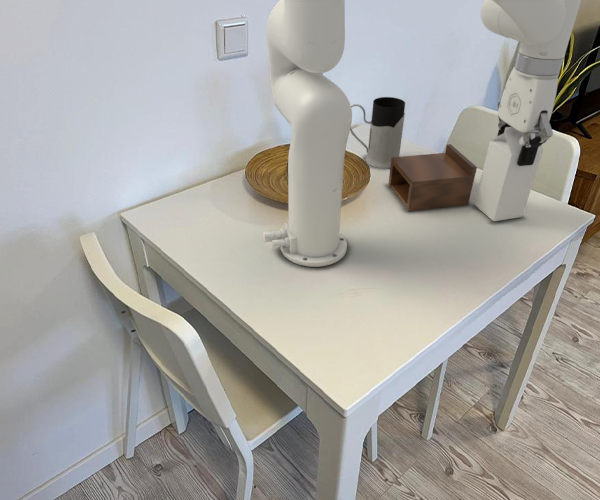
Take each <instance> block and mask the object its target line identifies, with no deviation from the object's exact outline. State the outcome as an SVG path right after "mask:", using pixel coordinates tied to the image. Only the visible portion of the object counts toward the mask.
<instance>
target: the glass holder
mask: <svg viewBox="0 0 600 500" xmlns="http://www.w3.org/2000/svg"><path fill="white" fill-rule="evenodd" d="M372 101H373V102H372V110H371V111H372V112H371V120H370V121H368V120H367V119H366V110H365V108H364V107H363V106H362V105H361V104H359V103H354V104H352V105H351V108H354V107H358V108H360V109H361V111H362V112H363V122H364V123H366V124H369V125H370V126H369V135H368V136H369V137H368V146H367V145H366V144H365V142H363V141H362V140H361V139H360V138H359V137H358V136H357V135H356V133H355V132H354V131H353V129H352V127H351V128H350V133H351V135H352V136H353V137H354V138H355V140H357V142H358V143H360V144H361V145H362V146H363V147H364V148H365V150H366V154H367V155H366V157H365V162H366V164H367V165H369V166H371V167H373V168H378V169H390V166H391V158H393V157H400V154H401V146H402V139H403V131H404V130H403V129H404V122H405V116H406V115H405V114H406V112H405V110H406V109H405V108H406V102H405V101H404V100H403V99H401V98H397V97H392V96H382V97H377V98H375V99H373V100H372Z"/></svg>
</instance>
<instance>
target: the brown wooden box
mask: <svg viewBox="0 0 600 500" xmlns="http://www.w3.org/2000/svg"><path fill="white" fill-rule="evenodd" d="M477 169H478V167H477V166H476V165H475V164H474V163H473V162H472V161H471V160H469V159H468V158H467V157H466V155H464V154H463V153H461V151H459V150H458V149H457V148H456V147H455V146H453V145H452V144H451V143H449V144H448V143H447V144H446V146H445V152H439V153H427V154H426V153H425V154H416V155H405V156H404V155H403V156H399V157H393V158H391V166H390V168H389V174H388V175H389V176H388V184H387V186H388V187H389V188H390V189H391V190H392V191H393V193H394V194H395V195H396V197H398V199H399V200H400V202H402V204H403V205H404V207H405V209H406V211H407V212H415V211H424V210H433V209H440V208H451V207H459V206H467V205H469V203H470V198H471V195H472V190H473V186H474V181H475V178H476V173H477Z"/></svg>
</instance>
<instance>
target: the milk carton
mask: <svg viewBox="0 0 600 500" xmlns="http://www.w3.org/2000/svg"><path fill="white" fill-rule="evenodd" d="M533 129H535V128H533ZM533 129H532V130H533ZM533 138H535V133H531V140H532V139H533ZM524 145H525V135H524V133H521V132H519V131H517V130H516V129H514V128H513V127H506V128H505V131H504V133H503V134H501V135H499V136H498V137H497V136H496V137H494V138H492V139H490V140H489V144H488V147H487V152H486V155H485V159H484V164H483V169H482V171H481V172H482V173H481V176H480V180H479V185H478V188H477V192H476V195H475V201H474V206H475V207H476V208H477V209H479V211H481V212H482V213H483V214H484V215H485V216H487V218H489V219H490V220H491V221H493V222H498V221H506V220H511V219H518V218H522V217H523V216H524V213H525V210H526V206H527V202H528V200H529V196H530V193H531V190H532V187H533V184H534V181H535V178H536V174H537V171H538V169H539V164H540V161H541V158H542V156H543V155H542V154H543V151H544V150H543V147H542V145H541V146H540V147H538V150H537V154H536V157H535V160H534V163H533V165H527V166H519V165H517V162H518V158H519V155H520V151H521V148H522V146H524Z"/></svg>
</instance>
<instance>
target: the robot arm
mask: <svg viewBox="0 0 600 500" xmlns="http://www.w3.org/2000/svg"><path fill="white" fill-rule="evenodd" d="M581 2H582V0H484V1H483V3H482V5H481V8H480V19H481V22H482V24H483V26H484V27H485V28H486V29H487V30H489V32H491V33H494V34H496V35H499V36H501V37H504V38H507V39H511V40H514V41H516V42H519V43H520V46H519V50H518V54H517V58H516V62H515V65H514V66H513V68H512V69H511V71H510V74H509V76H508V78H507V81H506V83H505V86H504V89H503V91H502V96H501V98H500V99H501V100H500V101H499V102H497V109H498V110H497V117H498V124H497V128H498V132H497V136H496V137H498V136H499V135H501V134H503V133H504V131H505V128H506V127H513V128H514V129H516V130H517V131H519V132H521V133H524V135H525V145H524V146H522V148H521V151H520V155H519V158H518V162H517V165H519V166H527V165H533V163H534V160H535V157H536V154H537V150H538V147H540V146H542V145H543V144H545V143H546V142H547V141H548V140H549V139H551V137H552V136H553V135H554V131H553V129H552V126H551V123H550V120H551V117H552V114H553V110H554V107H555V106H554V105H555V102H556V96H557V92H558V84H559V75H560V73H561V69H562V65H563V62H564V60H565V59H564V58H565V56H566V53H567V49H568V45H569V41H570V39H571V35H572V32H573V30H574V26H575V23H576V19H577V17H578V13H579V9H580V6H581ZM345 3H346V1H345V0H279V1H277V2H276V4H275V5H274V6H273V8H272V9H271V11H270V13H269V15H268V18H267V19H268V20H267V23H266V47H267V48H266V49H267V60H268V70H269V82H270V92H271V97H272V100H273V103H274V106H275V108H276V110H277V111H278V112H279V114H280V115H281V116H282V117H283V118H284V119H285V120H286V122H287V123H288V124H289V126H290V127H291V140H290V145H289V150H288V158H287V175H288V176H287V181H288V183H287V184H288V185H287V187H288V189H287V190H288V192H287V194H288V195H287V197H288V198H287V199H288V205H287V207H288V208H287V210H288V217H287V218H288V221H287V222H284V227H283V228H280V229H279V230H275V231H274V230H271V231H270V230H269V231H263V232H262V238H263V242H264V243H271V245H272V248H274V249H275V248H280V251H281V254H282V255H283V257H285V258H286V259H287V260H288V261H290V262H292V263H293V264H297V265H300V266H305V267H310V268H311V267H312V268H315V267H316V268H317V267H319V268H320V267H326V266H330V265H332V264H335V263H337V262H339V261H340V260H342V259H343V258H344V257H345V255H346V254H347V251H348V250H347V249H348V242H347V239H346V238H345V236H344V235H343V234H342V233H340V232H341V217H342V216H341V215H342V203H343V202H342V199H343V183H344V167H345V157H346V148H347V143H348V139H349V135H350V133H351V131H350V128H351V129H352V121H353V110H352V107H351V106H352V105H351V102H350V100H349V99H348V96H347V95H346V93H345V92H344V91H343V90H342V88H340V87H339V86H338V85H337V84H336V83H334V82H333V81H332V80H331V79H329V78H328V77H326V76H325V75H324V73H328V72H330V71H332V70H333V69H334V68H335V67H336V66H337V65H338V64H339V63H340V62H341V59H342V57H343V54H344V52H345V51H344V50H345V43H346V42H345V41H346V22H345V21H346V20H345V17H346V15H345V14H346V12H345V11H346V10H345V9H346V8H345V6H346V4H345ZM533 128H535V129H533ZM532 129H533V130H532ZM531 133H535V138H533V139H532V140H531Z"/></svg>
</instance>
